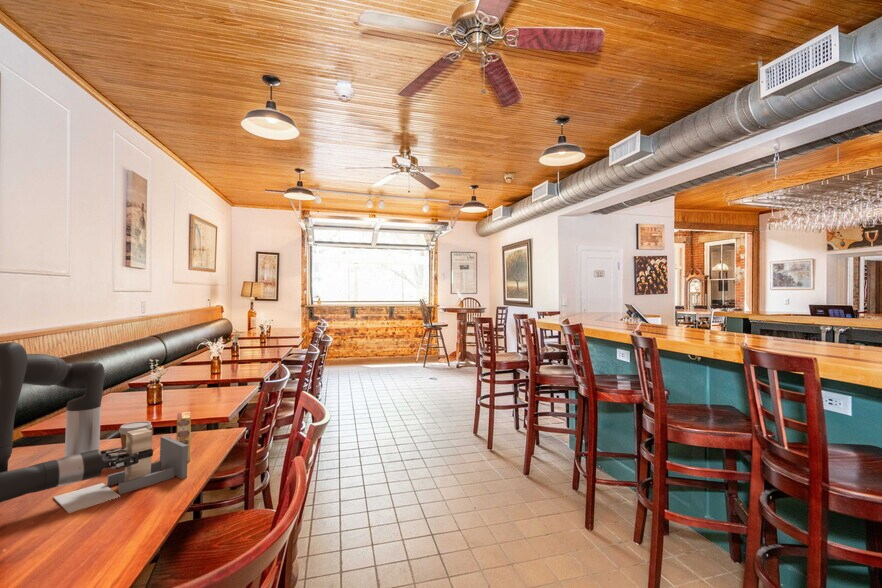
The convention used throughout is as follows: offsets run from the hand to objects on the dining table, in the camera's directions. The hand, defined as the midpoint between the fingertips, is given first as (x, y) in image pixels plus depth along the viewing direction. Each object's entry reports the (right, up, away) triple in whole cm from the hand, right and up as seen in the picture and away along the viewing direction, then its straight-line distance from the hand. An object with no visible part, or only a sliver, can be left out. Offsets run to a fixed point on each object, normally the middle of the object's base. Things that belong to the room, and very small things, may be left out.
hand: (148, 450), depth 126 cm
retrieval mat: (-8, -9, -12) cm, 17 cm away
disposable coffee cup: (-17, -10, +16) cm, 25 cm away
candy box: (0, -10, +17) cm, 20 cm away
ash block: (-2, -8, -2) cm, 9 cm away
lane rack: (0, -9, -1) cm, 9 cm away
